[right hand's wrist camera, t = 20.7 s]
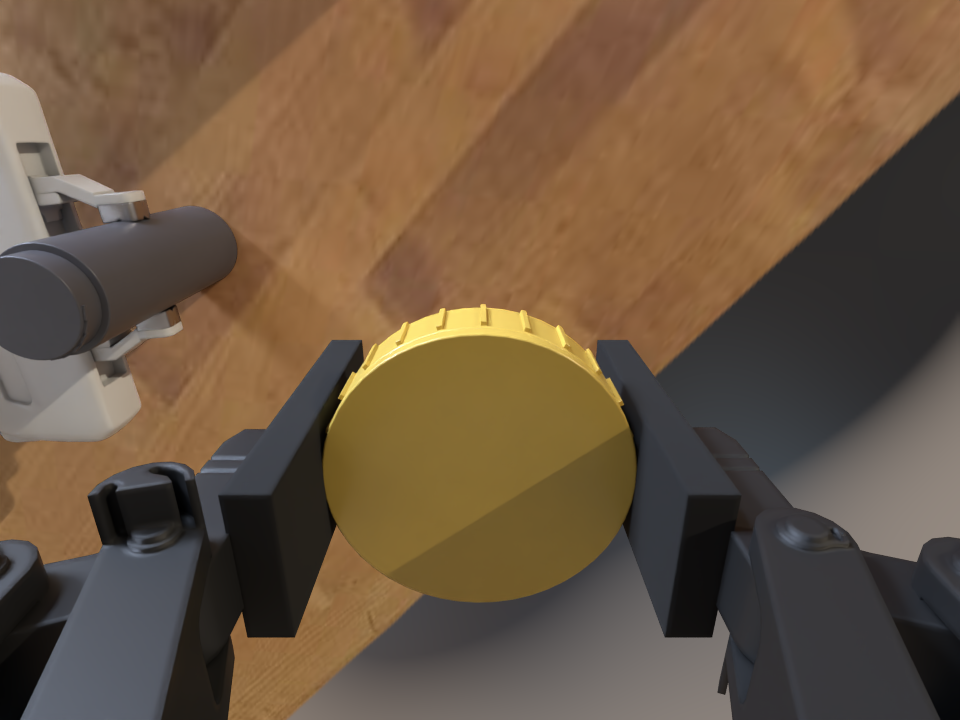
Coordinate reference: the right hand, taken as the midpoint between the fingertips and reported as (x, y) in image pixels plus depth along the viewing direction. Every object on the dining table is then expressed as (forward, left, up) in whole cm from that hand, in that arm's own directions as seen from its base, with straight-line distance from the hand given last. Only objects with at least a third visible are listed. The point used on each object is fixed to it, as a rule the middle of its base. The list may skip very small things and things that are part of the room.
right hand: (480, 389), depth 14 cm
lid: (0, 0, +4) cm, 4 cm away
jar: (-9, -16, -24) cm, 31 cm away
